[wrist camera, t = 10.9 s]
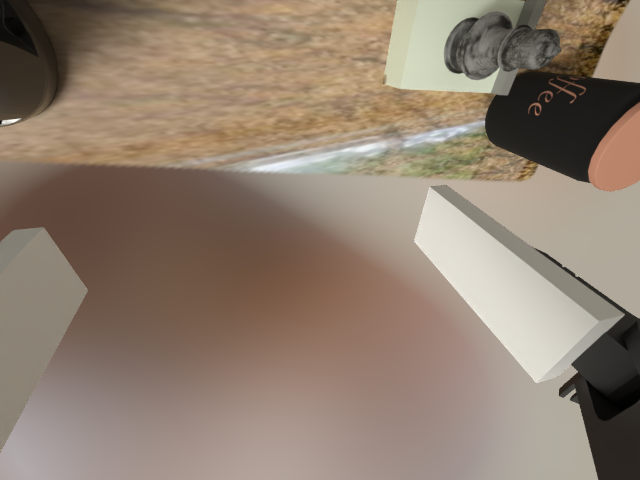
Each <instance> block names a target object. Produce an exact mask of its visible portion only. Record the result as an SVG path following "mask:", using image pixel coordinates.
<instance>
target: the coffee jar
mask: <svg viewBox="0 0 640 480" xmlns="http://www.w3.org/2000/svg"><path fill="white" fill-rule="evenodd" d="M485 129H486V133H487V135H488V138H489V140H490V141H491V142H492V143H493V144H494V145H495V146H498V147H500V148H502V149H505V150H507V151H509V152H512V153H514V154H517V155H519V156H521V157H524V158H526V159H528V160H531V161H533V162H535V163H538V164H540V165H543V166H545V167H547V168H550V169H552V170H555V171H557V172H559V173H561V174H564V175H566V176H569V177H571V178H573V179H576V180H578V181H583V182H588V183H592V184H593V185H594V186H595V187H596V188H598V189H600V190H604V191H610V192H611V191H615V190H620V189H623V188H626V187H628V186H630V185H632V184H634V183H636V182H638V181H639V180H640V83H634V82H625V81H616V80H608V79H599V78H590V77H581V76H573V75H564V74H555V73H546V72H530V73H526V74H523V75H521V76H519V77H517V78H515V79H514V81H513V84H512V86H511V89H510V91H509V94H508V95H496V96H495V97H494V99H493V101H492V102H491V104H490V106H489V108H488V111H487V115H486V119H485Z"/></svg>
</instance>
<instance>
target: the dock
mask: <svg viewBox="0 0 640 480" xmlns="http://www.w3.org/2000/svg"><path fill="white" fill-rule="evenodd" d="M545 3H546V1H544V0H530V1H521V0H397V5H396V10H395V16H394V22H393V28H392V34H391V40H390V45H389V51H388V57H387V63H386V69H385V74H384V80H383V84H386V85H390V86H393V87H396V88H399V89H413V90H435V91H456V92H478V93H493V94H497V95H508V94H509V91H510V89H511V86H512V84H513V81H514V79H515V77H516V74H517V72H518V69H519V68H517V69H515V70H513V71H510V72H506V71H503V70H501V69H500V67H499V68H498V70H497V71H495V72H494V73H493V74H492V75H491V76H489V77H487V78H485V79H481V80H472V79H470V78H468V77H466V75H465V74H464V73H461V74H456V73H452V72H451V71H449V70H448V68H447V67H446V65H445V62H444V47H445V44H446V41H447V38H448V36H449V34H450V33H451V31H452V30H453V29H454V27H455V26H456V25H457V24H458V23H460V22H461V21H463V20H465V19H466V18H472V17H474V18H479V19H480V18H481V17H482V16H484V15H486V14H488V13H491V12H497V11H498V12H502V13H504V14H506V15H507V16H508V17H509V18H510V20H511V22H512V26H513V28H515V27H517V26H519V25H528V26H530V27H531V28H532V30H535V28H536V25H537V23H538V20H539V18H540V15H541V13H542V10H543V8H544V6H545Z"/></svg>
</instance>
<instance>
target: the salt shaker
mask: <svg viewBox="0 0 640 480" xmlns="http://www.w3.org/2000/svg"><path fill="white" fill-rule="evenodd" d="M559 44H560V38H559V35H558V33H557V32H556V31H554V30H551V29H535V30H532V28H531V27H530V26H528V25H519V26H517V27H515V28H513V26H512V22H511V20H510V18H509V17H508V16H507V15H506V14H504V13H502V12H498V11H497V12H491V13H488V14H486V15H484V16H482V17H481V18H480V19H479V18H474V17H472V18H466V19H465V20H463V21H461V22H460V23H458V24H457V25H456V26H455V27H454V29H453V30H452V31H451V33H450V34H449V36H448V38H447V41H446V44H445V47H444V62H445V65H446V67H447V68H448V70H449V71H451V72H452V73H456V74H461V73H464V74H465V75H466V77H468V78H470V79H472V80H481V79H485V78H487V77H489V76H491V75H492V74H493V73H494V72H495V71H497V70H498V68H499V67H500V69H501V70H503V71H506V72H510V71H513V70H515V69H517V68H522V69H531V70H535V69H540V68H542V67H544V66H545V65H547V64H548V63H549V62H550V61H551V60H552V59H553V58H554V56H556V55H557V54H559V53H560V52H561V48H560V46H559Z"/></svg>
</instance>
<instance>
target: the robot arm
mask: <svg viewBox="0 0 640 480" xmlns="http://www.w3.org/2000/svg"><path fill="white" fill-rule="evenodd" d="M57 83H58V69H57V62H56V57H55V54H54V50H53V48H52V45H51V42H50V40H49V38H48V36H47V34H46V32H45V30H44V28H43V26H42V24H41V22H40V21H39V19H38V18H37V16H36V15H35V13H34V12H33V10H32V9H31V7H30V6H29V5H28V4H27V2H26V1H25V0H0V127H3V126H9V125H13V124H17V123H19V122H22V121H25V120H27V119H30V118H32V117H34V116H36V115H38V114H39V113H41V112H42V111H43V110H44V109H46V108H47V106H48V105H49V104H50V102H51V101H52V99H53V97H54V95H55V92H56V88H57ZM414 241H415V243H416V244H417V245H418V246H419V247H420V249H421V250H422V251H423V252H424V253H425V255H426V256H427V257H428V258H429V259H430V260H431V261H432V263H433V264H434V265H435V266H436V267H437V268H438V270H439V271H440V272H441V273H442V274H443V275H444V277H446V279H447V280H448V281H449V282H450V283H451V285H452V286H453V287H454V288H455V289H456V290H457V291H458V293H459V294H460V295H461V296H462V297H463V299H464V300H465V301H466V302H467V303H468V304H469V305H470V306H471V308H472V309H473V310H474V311H475V312H476V314H477V315H478V316H479V317H480V318H481V319H482V321H483V322H484V323H485V324H486V325H487V326H488V327H489V329H490V330H491V331H492V332H493V333H494V334H495V336H496V337H497V338H498V339H499V340H500V341H501V342H502V344H503V345H504V346H505V347H506V348H507V349H508V351H509V352H510V353H511V354H512V355H513V356H514V358H515V359H516V360H517V361H518V362H519V363H520V365H521V366H522V367H523V368H524V369H525V370H526V371H527V373H528V374H529V375H530V376H531V377H532V378H533V380H534V381H535V382H536V383H538V382H542V381H545V380H548V379H551V378H555V377H558V376H559V375H560V374H561V373H563V371H565V370H566V369H567V368H568V367H569V366H570V365H572V366H573V367H574V368H575V369H576V370H577V371H578V373H576V374H575V375H574V376H573V377H572V378H571V379H570V380H569V381H567V382H566V383H565V384H564V385H563V386H562V387H561V388H560V389H559V396H560V397H563V398H564V397H565V396H566V395H567V394H569V393H570V392H571V391H572V390H574V389H576V393H575V394H574V395H573V396H572V397H571V399H570V400H571V401H573V402H576V403H578V404H580V409H581V412H582V416H583V420H584V424H585V428H586V432H587V436H588V440H589V444H590V448H591V452H592V456H593V460H594V464H595V468H596V472H597V476H598V480H640V319H638V318H637V317H635V316H634V315H632V314H631V313H629V312H628V311H626V310H625V309H623V308H622V307H620V306H619V305H618V304H616V303H615V302H613V301H612V300H611V299H609V298H608V297H607V296H605V295H604V294H602V293H601V292H599V291H598V290H597V289H595V288H594V287H593V286H591V285H590V284H588V283H587V282H585V281H584V280H583V279H581V278H580V277H576V276H575V274H574V273H573V272H572V271H570V270H569V269H567V268H566V267H562V265H561V264H560V263H559V262H557V261H556V260H555V259H553V258H552V257H550V256H549V255H548V254H546V253H544V252H542V251H540V250H537V249H535V248H533V247H531V246H530V245H528V244H527V243H526V242H524V241H523V240H521V239H520V238H519V237H517V236H516V235H515V234H513V233H512V232H511V231H509V230H508V229H506V228H505V227H504V226H502V225H501V224H499V223H498V222H496V221H495V220H494V219H493V218H491V217H490V216H488V215H487V214H486V213H484V212H483V211H482V210H480V209H479V208H477V207H476V206H475V205H473V204H472V203H471V202H469V201H468V200H466V199H465V198H464V197H462V196H461V195H459V194H458V193H457V192H455V191H454V190H452V189H451V188H450V187H448V186H447V185H441V186H431V187H429V191H428V194H427V198H426V201H425V205H424V208H423V212H422V216H421V219H420V222H419V226H418V229H417V233H416V236H415V240H414ZM86 293H87V289H86V287H85V286H84V284H83V283H82V281H81V280H80V279H79V277H78V276H77V274H76V273H75V271H74V270H73V269H72V267H71V266H70V264H69V263H68V261H67V260H66V259H65V257H64V256H63V254H62V253H61V252H60V250H59V249H58V247H57V246H56V244H55V243H54V241H53V240H52V239H51V237H50V236H49V234H48V233H47V232H46V230H45V229H44V228H43V227H41V228H32V229H22V230H13V231H12V232H11V233H10V234H9V235H7V236H6V237H5V238H4V239H3V240H2V241H1V242H0V452H1V450H2V448H3V446H4V445H5V443H6V441H7V439H8V437H9V435H10V434H11V432H12V430H13V428H14V426H15V424H16V422H17V420H18V419H19V417H20V415H21V413H22V411H23V409H24V408H25V406H26V404H27V402H28V400H29V398H30V396H31V394H32V393H33V391H34V389H35V387H36V385H37V383H38V382H39V380H40V378H41V376H42V374H43V372H44V370H45V369H46V367H47V365H48V363H49V361H50V359H51V358H52V356H53V354H54V352H55V350H56V348H57V347H58V344H59V343H60V341H61V339H62V337H63V335H64V333H65V332H66V330H67V328H68V326H69V324H70V322H71V321H72V319H73V317H74V315H75V313H76V311H77V310H78V308H79V306H80V304H81V302H82V300H83V298H84V296H85V295H86Z"/></svg>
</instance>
